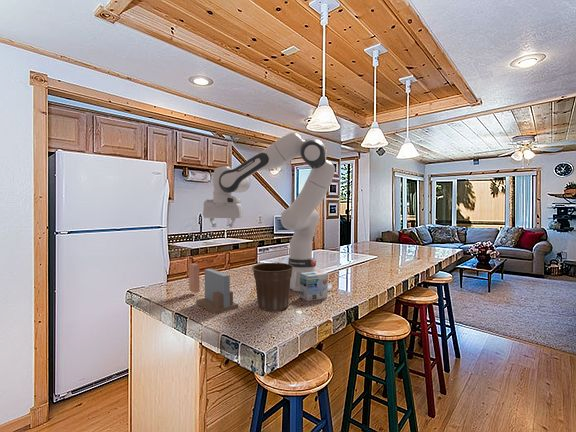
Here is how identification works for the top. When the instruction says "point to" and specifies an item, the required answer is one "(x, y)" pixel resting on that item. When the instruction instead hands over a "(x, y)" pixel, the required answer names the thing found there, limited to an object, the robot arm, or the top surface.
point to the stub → (194, 277)
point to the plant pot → (272, 285)
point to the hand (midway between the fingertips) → (222, 227)
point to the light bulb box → (313, 285)
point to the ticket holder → (217, 292)
